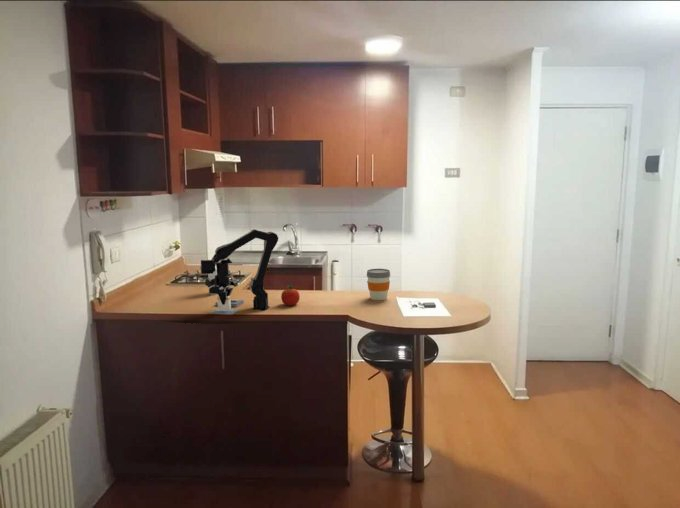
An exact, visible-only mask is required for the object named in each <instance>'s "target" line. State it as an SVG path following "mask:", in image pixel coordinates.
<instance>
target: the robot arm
mask: <svg viewBox="0 0 680 508" xmlns="http://www.w3.org/2000/svg"><path fill="white" fill-rule="evenodd" d="M255 239H259V240H262V241H263V250H262V252H261V257H260V260H259V263H258V264H259V265H258V267H257V271H256V274H255V276H254V277H251V278H250V283H249V284H248V286H249V290H250V291H251V293H252V294H253V295H254V296H253V300H252V303H253V304H252V305H253V308H252V309H253V310H257V311H258V310H260V311H266V310H268V309H269V308H271V307H270V306H269V296H268V295H269V293H267V291H266V290H265V289H264V288H265V287H264V286H265V275H266V272H267V269H268V266H269V262H270V259H271V255H272V252H273V250H274V249H275V248H276V246H277V243H278V241H279V236H278V234H277V233H275V232H273V231H267V232H266V231H262V230H257V229H252V230H251V229H250V231H249V232H247V233H245V234H243V235H242V236H239V238H237V239H235V240H233V241H231V242H229V243H227V244H223V245H220V246H218V247H216V248H215V251H214V255H213V256H212V258H211V259H207V260H206V259H201V260H200V274H201V275H208V274H212V273H213V272H214V271H215V266H216V268H217V275H215V278H214V279H210V278H209V279H208V278H207V279H205V281H204V285H205V286H206V287H207V288H208V294H209V293H211V294H213V295H215V294H218V295H217V296H219V297H220V300H221V302H222V304H223V305H224V304H225V301H226V297H227V296H230V297H231V294H232V292H233V290H234V288H235V287H237V286H238V281H237V280H236V279H230V277H231V273H230V271H229V264H232V263H233V261H232V260H231V259H230V258H229V256H230V257H231V255H233V253H234V252H235V251H236V250H238V249H240V248H241V247H242V246H243V247H244V245H246V244H249V243H250V242H252V241H253V240H255ZM213 285H215V286H213ZM210 286H213V287H211V288H210V289H209V287H210ZM231 286H233V287H234V288H233V287H231ZM211 294H210V295H211Z"/></svg>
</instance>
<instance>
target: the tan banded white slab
mask: <svg viewBox="0 0 680 508" xmlns="http://www.w3.org/2000/svg"><path fill="white" fill-rule="evenodd" d="M216 297H217V298H216V299H217V302H218V306H217V309H220V310H230V309H232V307H231V300H232V299H231V295H230V296H227V297H226V301H225V304H224V305H223V304H222V302H221V300H220V297H219V295H216Z"/></svg>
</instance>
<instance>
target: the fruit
mask: <svg viewBox="0 0 680 508" xmlns="http://www.w3.org/2000/svg"><path fill="white" fill-rule="evenodd" d="M286 287H287V288H288V289H287V288H285V289H284V290H283V291H282V293H281V297H280V299H281V301H282V303H283V304H284V305H285V306H289V307H290V306H291V307H292V306H296V305H297V304H298V303H299V301H300V293H299V291H298V289H295V288H293V285H287V286H286Z"/></svg>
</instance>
